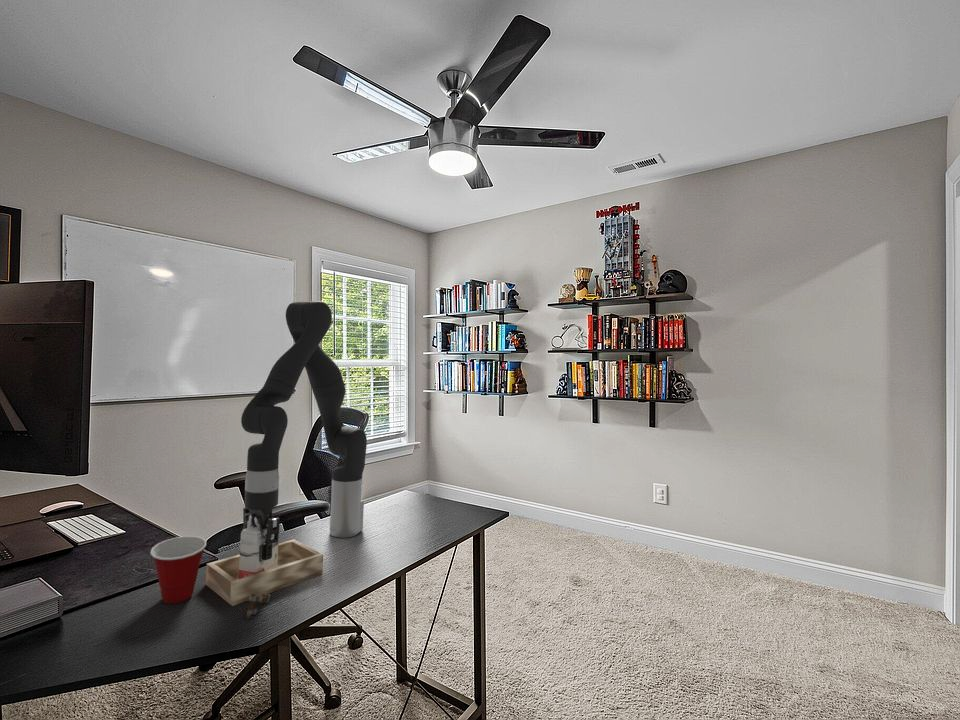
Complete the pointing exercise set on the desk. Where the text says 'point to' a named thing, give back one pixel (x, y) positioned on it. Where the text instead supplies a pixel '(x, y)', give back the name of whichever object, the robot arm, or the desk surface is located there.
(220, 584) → the trough
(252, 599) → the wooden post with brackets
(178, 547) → the plastic cup
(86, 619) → the desk surface
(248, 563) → the ink box
